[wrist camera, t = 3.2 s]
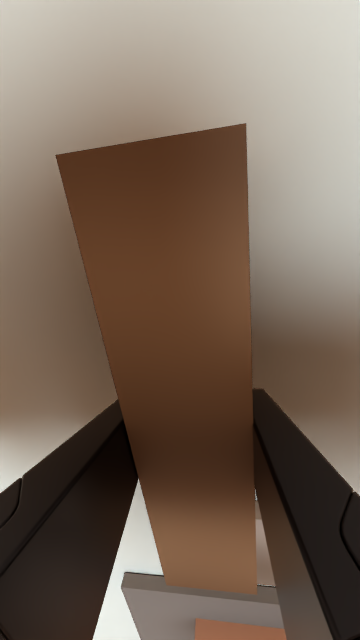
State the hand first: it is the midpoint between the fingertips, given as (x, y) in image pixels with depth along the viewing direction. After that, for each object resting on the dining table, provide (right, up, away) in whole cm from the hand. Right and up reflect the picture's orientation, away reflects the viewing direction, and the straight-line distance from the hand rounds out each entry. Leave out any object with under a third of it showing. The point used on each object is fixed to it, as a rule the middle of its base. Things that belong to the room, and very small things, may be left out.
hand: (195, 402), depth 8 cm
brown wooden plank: (0, -1, +2) cm, 3 cm away
